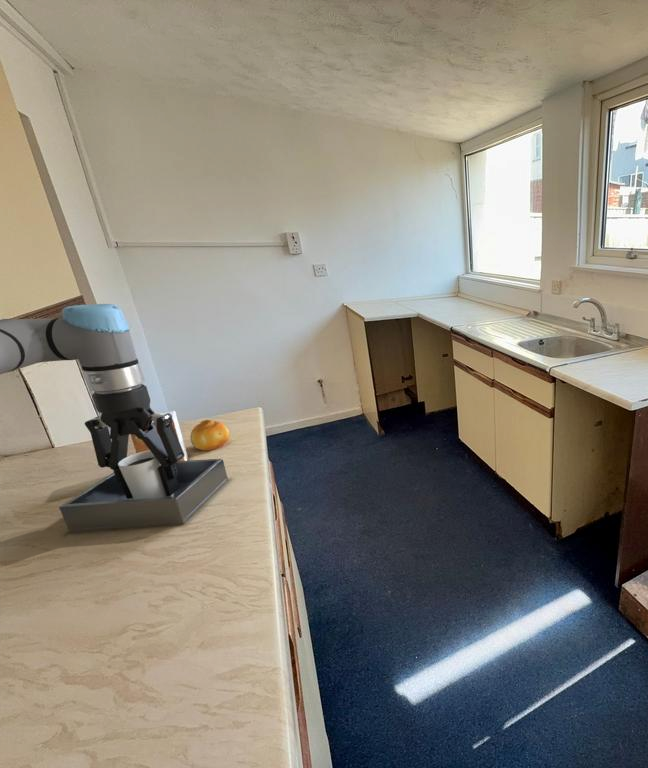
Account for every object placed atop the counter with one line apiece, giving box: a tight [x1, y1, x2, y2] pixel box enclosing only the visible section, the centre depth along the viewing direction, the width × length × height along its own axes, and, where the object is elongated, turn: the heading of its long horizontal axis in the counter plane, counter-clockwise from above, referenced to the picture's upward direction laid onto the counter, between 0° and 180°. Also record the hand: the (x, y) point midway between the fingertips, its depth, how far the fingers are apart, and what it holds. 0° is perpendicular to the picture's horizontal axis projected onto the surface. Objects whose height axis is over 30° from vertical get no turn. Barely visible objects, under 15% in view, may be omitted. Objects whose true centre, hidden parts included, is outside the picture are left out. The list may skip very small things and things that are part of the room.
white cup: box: [118, 451, 174, 500], centre depth 80 cm, size 7×7×10 cm
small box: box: [130, 410, 188, 461], centre depth 95 cm, size 8×6×13 cm
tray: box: [58, 458, 229, 534], centre depth 81 cm, size 20×16×6 cm
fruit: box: [189, 419, 230, 451], centre depth 106 cm, size 8×8×8 cm
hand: (153, 493), depth 81 cm, fingers open, 7 cm apart
